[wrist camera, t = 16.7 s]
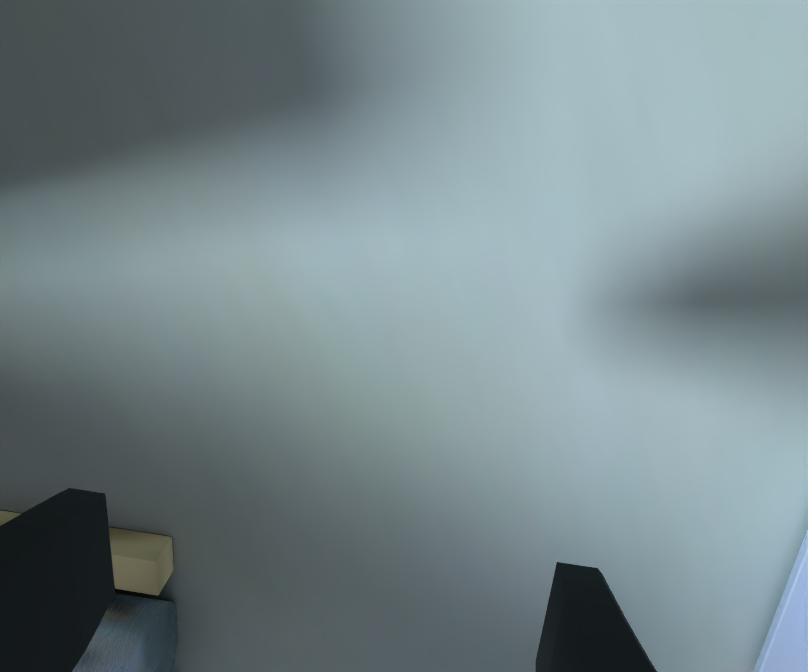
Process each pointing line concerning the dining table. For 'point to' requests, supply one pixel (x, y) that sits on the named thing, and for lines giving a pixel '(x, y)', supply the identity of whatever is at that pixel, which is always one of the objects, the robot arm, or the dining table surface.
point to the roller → (133, 637)
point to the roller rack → (134, 558)
